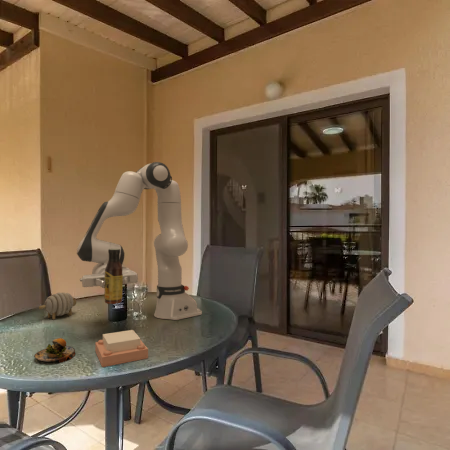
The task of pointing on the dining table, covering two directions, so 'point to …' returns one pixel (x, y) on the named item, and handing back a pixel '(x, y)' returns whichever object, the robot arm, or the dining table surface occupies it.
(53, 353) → the burger
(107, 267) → the sauce bottle
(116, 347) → the brick stack
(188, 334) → the dining table surface
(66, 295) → the toy sheep
